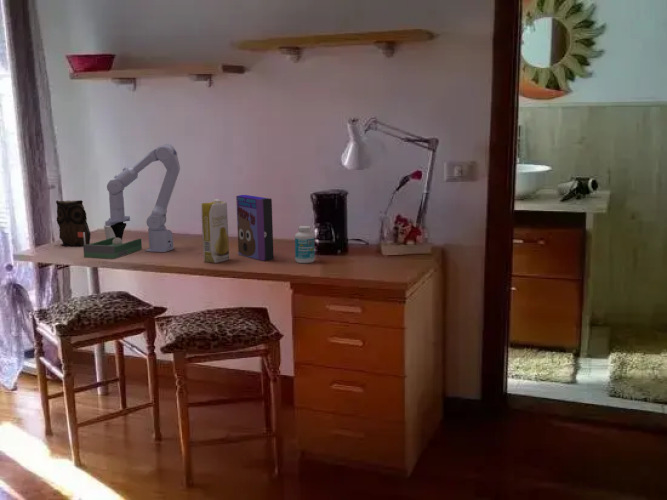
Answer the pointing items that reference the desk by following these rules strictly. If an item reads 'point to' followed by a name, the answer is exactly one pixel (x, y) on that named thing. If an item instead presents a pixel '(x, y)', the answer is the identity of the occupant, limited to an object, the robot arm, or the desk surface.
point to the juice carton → (215, 231)
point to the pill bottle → (304, 245)
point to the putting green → (109, 248)
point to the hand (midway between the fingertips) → (119, 240)
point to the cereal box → (255, 227)
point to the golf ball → (117, 241)
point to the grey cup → (109, 232)
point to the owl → (72, 223)
